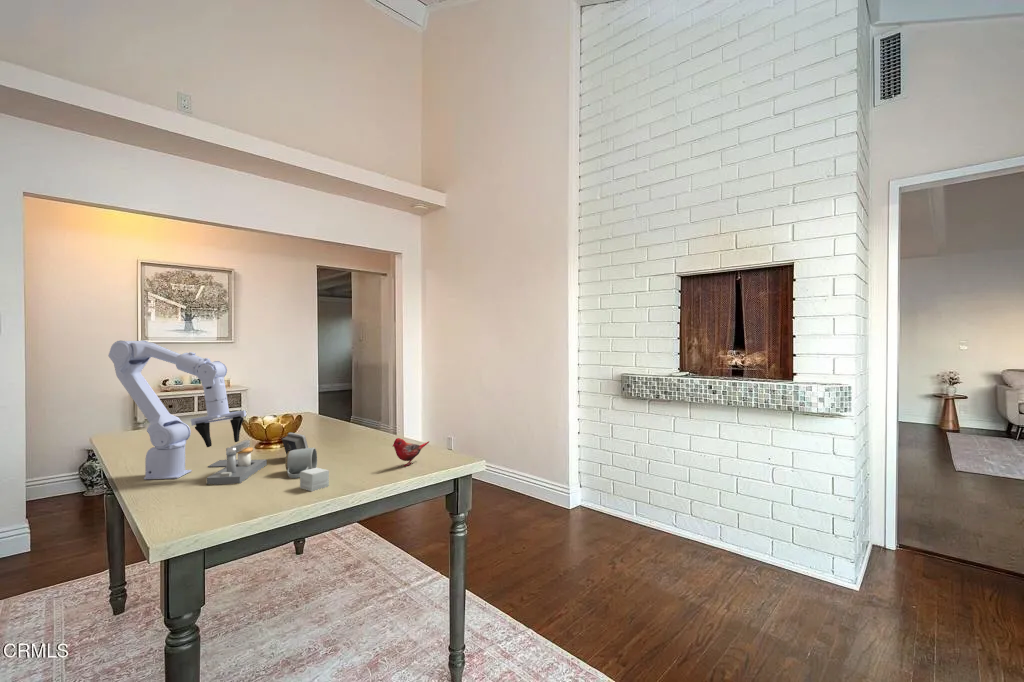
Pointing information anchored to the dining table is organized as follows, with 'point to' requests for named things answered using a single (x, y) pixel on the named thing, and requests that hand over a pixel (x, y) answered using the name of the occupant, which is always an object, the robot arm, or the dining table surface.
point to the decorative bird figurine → (407, 450)
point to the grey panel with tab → (235, 471)
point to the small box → (314, 479)
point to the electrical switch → (294, 442)
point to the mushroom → (245, 457)
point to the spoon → (237, 447)
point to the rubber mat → (219, 464)
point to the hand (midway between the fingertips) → (223, 444)
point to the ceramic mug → (300, 461)
